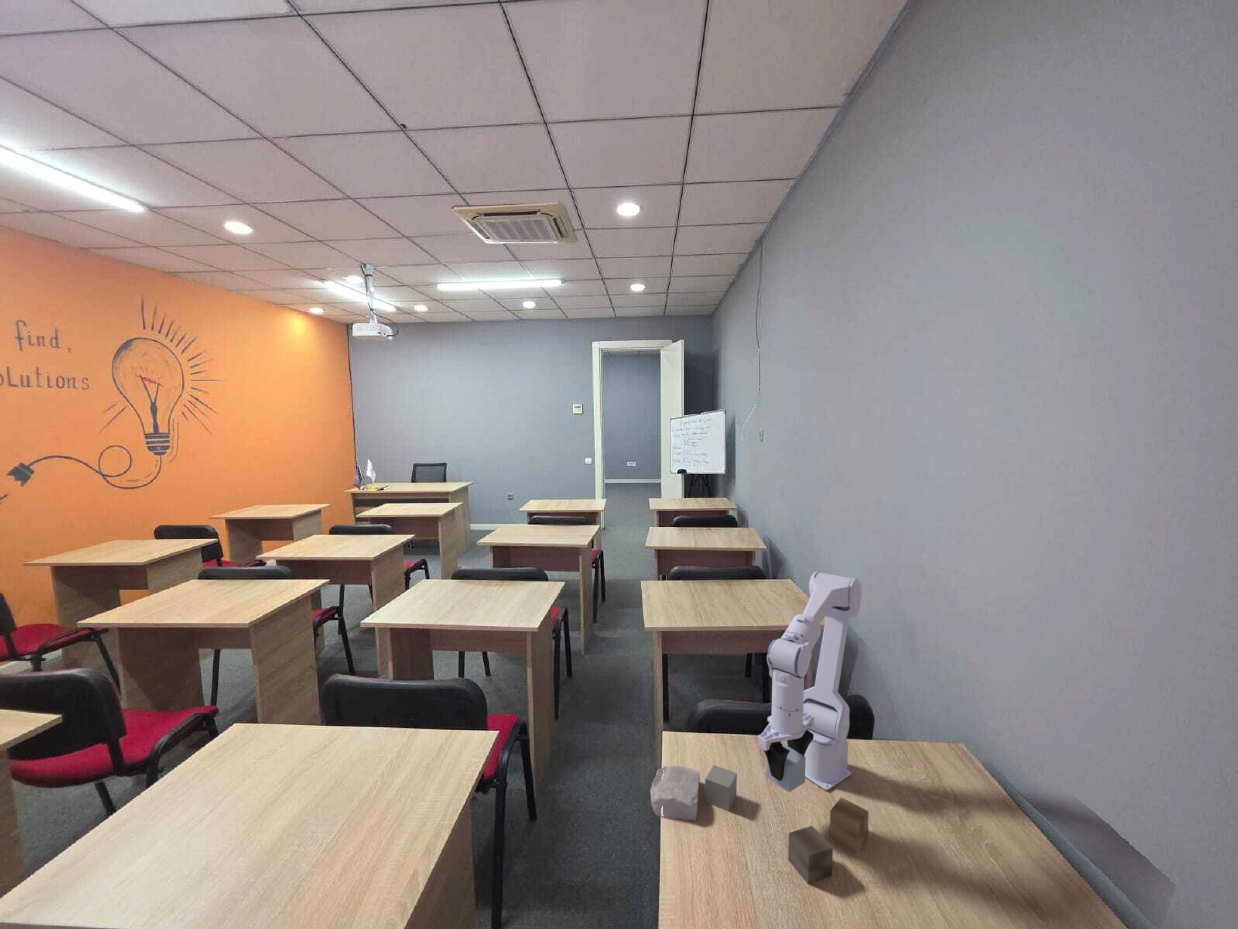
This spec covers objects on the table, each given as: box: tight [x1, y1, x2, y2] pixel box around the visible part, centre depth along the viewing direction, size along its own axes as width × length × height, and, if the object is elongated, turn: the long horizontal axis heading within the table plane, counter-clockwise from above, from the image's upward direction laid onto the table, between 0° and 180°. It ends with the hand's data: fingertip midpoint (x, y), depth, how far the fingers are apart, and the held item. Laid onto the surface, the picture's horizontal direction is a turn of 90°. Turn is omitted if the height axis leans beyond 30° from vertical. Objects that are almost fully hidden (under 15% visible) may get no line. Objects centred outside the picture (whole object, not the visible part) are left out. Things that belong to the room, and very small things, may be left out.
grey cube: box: [704, 764, 738, 812], centre depth 100 cm, size 5×5×5 cm
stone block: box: [649, 765, 701, 822], centre depth 100 cm, size 12×5×10 cm
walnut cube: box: [829, 796, 870, 853], centre depth 90 cm, size 5×5×5 cm
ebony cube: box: [787, 825, 834, 885], centre depth 84 cm, size 5×5×5 cm
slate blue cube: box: [766, 743, 806, 793], centre depth 94 cm, size 5×5×5 cm
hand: (785, 772), depth 94 cm, fingers closed on slate blue cube, 5 cm apart
